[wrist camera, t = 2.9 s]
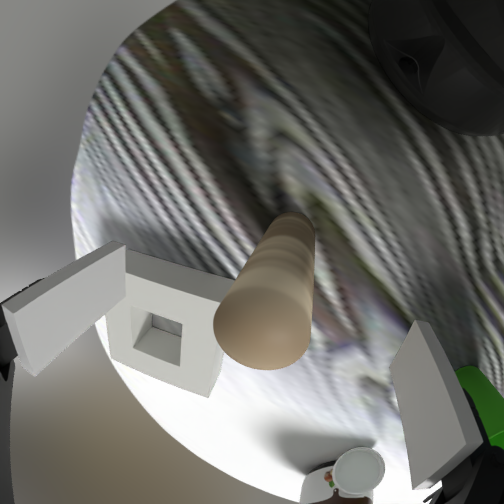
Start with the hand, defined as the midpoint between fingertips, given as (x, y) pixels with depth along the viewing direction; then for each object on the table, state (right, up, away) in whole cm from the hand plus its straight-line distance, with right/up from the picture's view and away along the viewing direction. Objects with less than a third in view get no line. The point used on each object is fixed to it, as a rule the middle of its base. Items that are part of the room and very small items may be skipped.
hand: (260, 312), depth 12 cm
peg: (+3, +4, +10) cm, 11 cm away
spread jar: (+13, -27, +19) cm, 36 cm away
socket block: (-8, -4, +15) cm, 18 cm away
